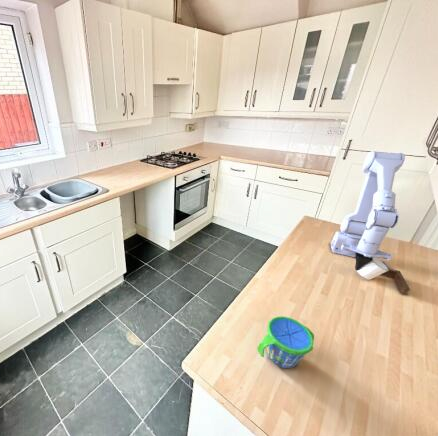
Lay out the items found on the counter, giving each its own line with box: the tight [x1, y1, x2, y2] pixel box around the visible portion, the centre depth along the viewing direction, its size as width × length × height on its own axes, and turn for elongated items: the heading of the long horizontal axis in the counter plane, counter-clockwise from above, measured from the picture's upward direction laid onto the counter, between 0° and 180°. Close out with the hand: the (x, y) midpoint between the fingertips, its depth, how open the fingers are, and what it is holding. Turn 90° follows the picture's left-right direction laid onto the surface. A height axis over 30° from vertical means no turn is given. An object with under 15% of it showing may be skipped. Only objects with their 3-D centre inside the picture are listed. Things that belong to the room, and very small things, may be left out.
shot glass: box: [356, 257, 389, 281], centre depth 93 cm, size 7×7×7 cm
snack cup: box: [256, 315, 315, 369], centre depth 66 cm, size 16×10×10 cm
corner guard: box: [379, 267, 411, 296], centre depth 92 cm, size 8×11×3 cm
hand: (356, 268), depth 95 cm, fingers closed, pressing on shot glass
